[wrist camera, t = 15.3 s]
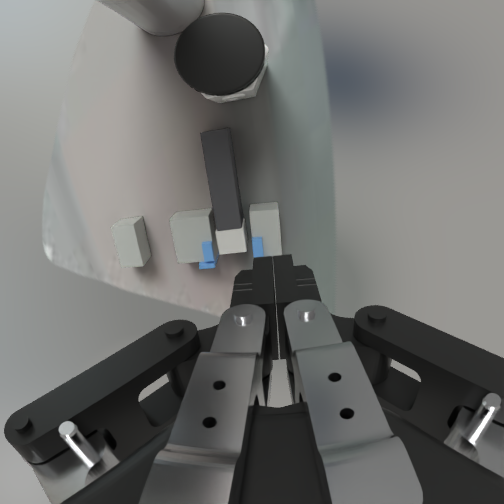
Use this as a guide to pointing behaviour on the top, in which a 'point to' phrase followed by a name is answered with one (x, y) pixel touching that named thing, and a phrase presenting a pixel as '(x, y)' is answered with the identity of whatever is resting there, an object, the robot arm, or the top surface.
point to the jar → (222, 57)
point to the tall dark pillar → (224, 191)
